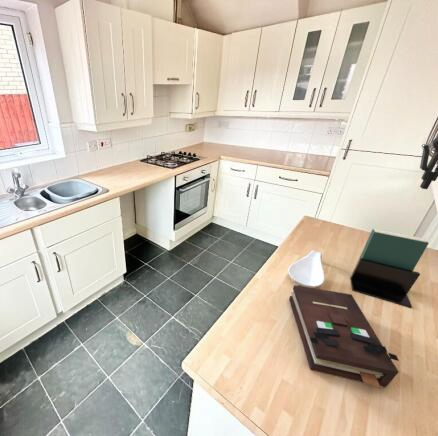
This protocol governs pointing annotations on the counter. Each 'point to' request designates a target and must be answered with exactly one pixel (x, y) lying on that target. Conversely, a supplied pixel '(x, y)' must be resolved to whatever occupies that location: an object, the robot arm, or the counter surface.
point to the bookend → (383, 281)
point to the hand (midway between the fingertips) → (423, 187)
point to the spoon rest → (308, 270)
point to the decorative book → (340, 337)
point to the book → (394, 249)
